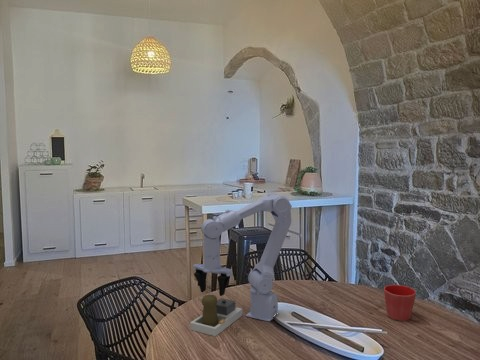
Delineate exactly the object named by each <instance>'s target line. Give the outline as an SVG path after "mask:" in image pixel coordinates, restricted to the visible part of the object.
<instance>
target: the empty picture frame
mask: <svg viewBox="0 0 480 360" xmlns="http://www.w3.org/2000/svg"><path fill="white" fill-rule="evenodd" d="M216 310H217V317H218V325H217V326H215V327H212V326H208V325H204V324H202V316H203V313H202V314H200V315H199V316H198V317H196V318H195V319H193V320H192V321H190V322H189V327H190V328H189V329H190V331H195V332H198V333H201V334H205V335H209V336H213V337H216V336H218V335H219V334H221V333H222V332H223V331H225V330H226V329H227V328H229V326H231V325H232V324H233V323H235V322H236V321H237V320H239V319H240V318H241V317H242V316H243V308H240V307H236V300H231V299H229V298H228V299H227V298H223V297H221V298H219V299H217V305H216Z"/></svg>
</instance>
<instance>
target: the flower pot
mask: <svg viewBox="0 0 480 360" xmlns="http://www.w3.org/2000/svg"><path fill="white" fill-rule="evenodd" d="M383 293H384V294H383V295H384V302H385V309H386V315H387V317H389V318H390V319H392V320H394V321H401V322H404V321H405V322H406V321H409V320H410V319H411V317H412V313H413V309H414V304H415V300H416V295H417V291H416V290H415V289H414V288H412V287H410V286H406V285H402V284H401V285H400V284H389V285H385V286H384V288H383Z"/></svg>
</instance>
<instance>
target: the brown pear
mask: <svg viewBox="0 0 480 360" xmlns="http://www.w3.org/2000/svg"><path fill="white" fill-rule="evenodd" d="M217 301H218V298H217V296H216V295H214V294H206V295H204V296H202V299H201V304H202V306H203V309H202V314H203V316H202V324H204V325H208V326H212V327H215V326H217V325H218V324H219V323H218V317H217V310H216V305H217Z"/></svg>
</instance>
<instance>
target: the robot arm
mask: <svg viewBox="0 0 480 360" xmlns="http://www.w3.org/2000/svg"><path fill="white" fill-rule="evenodd" d="M291 211H292V204H291V202H290V200H289V199H288V197H286V196H283V195H282V196H281V195H279V194H277V193H272V192H271V193H268V194H267V195H263V196H261V197H260V198H258V199H256V200H254V201H253V202H251V203H249V204H247V205H245V206H244V207H241V208H240V209H237V210H234V209H226V210H225V211H224V213H221V214H219V215H217V216H216V215H215V216H212V218H208V219H206V220H204V221H203V222H202V224H201V227H200V231H201V233H203V235H202V236H203V237H202V240H203V241H202V245H203V246H202V252H203V255H202V256H203V257H202V258H203V263H202V264H201V263H195V264H193V265H192V268H193V269H192V270H193V271H194V272H193V275H194V277H195V280H196V281H197V284H198V286H199V289H200V292H201V293H205V292H206V290H207V275H208V273H211V274H217V275H218V276H217V277H216V279H217V282H218V289H219V290H218V291H219V292H218V293H219V297H220V296H221V297H223V296H224V295H225V293H226V290H227V289H226V288H227V284H228V282H229V280H230V278H231V276H232V275H233V269H232V268H227V267H225V266H222V265H221V242H220V236H221V234H222V233H224V232H226V231H228V230H230V229H232V228H234V227H236V226H239V225H240V222H241V221H242V219H245V218H247V217H250V216H252V215H255V214H257V213H260V212H269V213H270V214H271V215H272V217H273V220H274V225H273V227H272V230H271V232H270V235H269V236H268V240H267V243H266V244H265V248H264V250H263V253H262V255H261V257H260V260H259V262H257V263H256V264H255V265H254V268H253V269H252V270H251V271H250V272H249V273H248V277H247V280H248V283H249V285H250V290H249V292H250V297H249V298H250V304H249V305H250V311H249V312H247V314H246V315H245V316H246V317H247V318H253V319H256V320H261V321H265V322H271V321H272V320H274V318H273V316H274V315H275V314H277V313H278V312H279V311H278V309H279V308H278V307H279V305H278V303H279V302H278V300H279V299H278V298H279V297H278V294H277V293H275V292H273V291H271V290H272V289H273V286H274V278H275V272H274V267H275V265H276V263H277V260H278V257H279V254H280V252H281V250H282V248H283V245H284V242H285V239H286V237H287V235H288V232H289V230H290V227H291V225H292V212H291ZM278 314H279V313H278ZM278 314H277V315H278Z"/></svg>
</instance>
